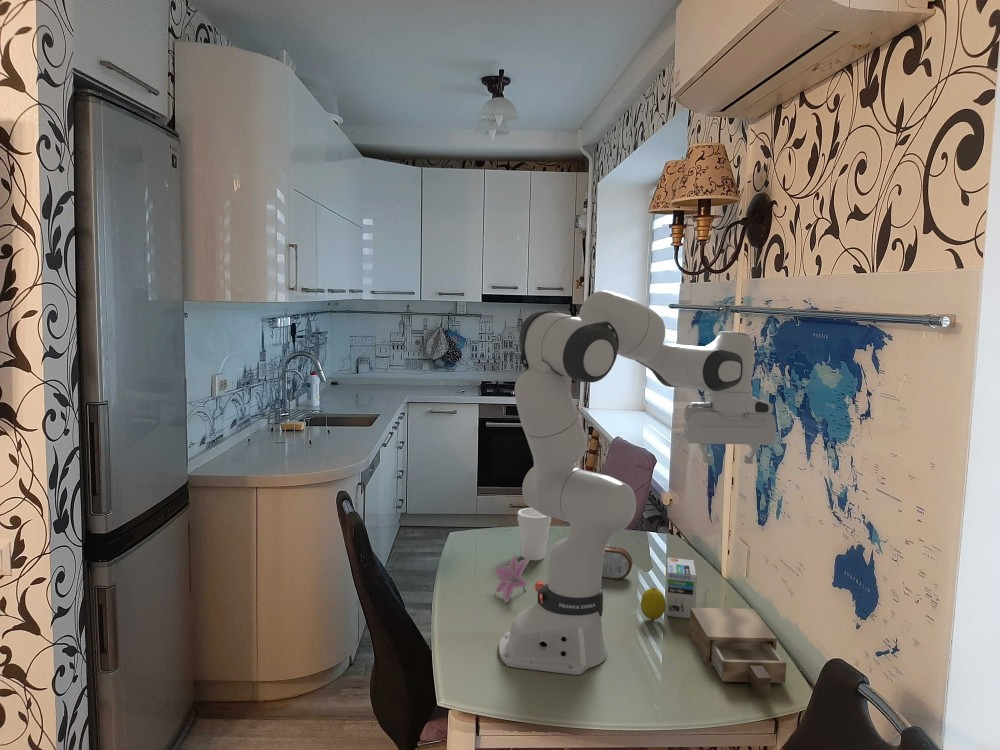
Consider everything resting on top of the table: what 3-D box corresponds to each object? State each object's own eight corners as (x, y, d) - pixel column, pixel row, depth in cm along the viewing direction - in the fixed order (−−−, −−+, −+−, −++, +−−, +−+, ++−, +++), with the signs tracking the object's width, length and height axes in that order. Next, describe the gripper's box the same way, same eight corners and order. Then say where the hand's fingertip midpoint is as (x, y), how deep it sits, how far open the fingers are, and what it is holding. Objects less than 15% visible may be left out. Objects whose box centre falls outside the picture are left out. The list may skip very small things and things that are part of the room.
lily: (495, 587, 190) (482, 560, 185) (537, 570, 189) (525, 543, 185) (502, 620, 179) (488, 592, 175) (547, 602, 178) (534, 574, 174)
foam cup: (510, 557, 208) (511, 513, 206) (528, 548, 215) (529, 505, 214) (538, 565, 202) (540, 519, 201) (555, 555, 210) (557, 511, 209)
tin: (631, 578, 195) (632, 547, 194) (631, 582, 192) (632, 551, 191) (575, 572, 198) (576, 542, 197) (573, 576, 195) (574, 545, 194)
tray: (731, 695, 136) (732, 675, 136) (704, 649, 154) (705, 630, 154) (795, 696, 136) (796, 676, 136) (761, 650, 154) (762, 632, 154)
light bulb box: (695, 619, 170) (697, 575, 169) (665, 616, 171) (667, 572, 170) (692, 601, 181) (695, 559, 179) (665, 598, 182) (666, 556, 181)
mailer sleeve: (706, 664, 149) (707, 636, 148) (689, 633, 163) (690, 607, 162) (775, 666, 149) (776, 638, 148) (751, 634, 163) (753, 608, 162)
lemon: (662, 627, 166) (664, 594, 165) (638, 623, 167) (639, 590, 167) (666, 618, 171) (667, 585, 170) (642, 614, 173) (643, 581, 172)
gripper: (688, 404, 162) (685, 465, 164) (780, 405, 162) (777, 467, 164) (681, 400, 169) (678, 458, 170) (770, 401, 169) (766, 460, 170)
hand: (727, 462), depth 167 cm, fingers open, 8 cm apart
